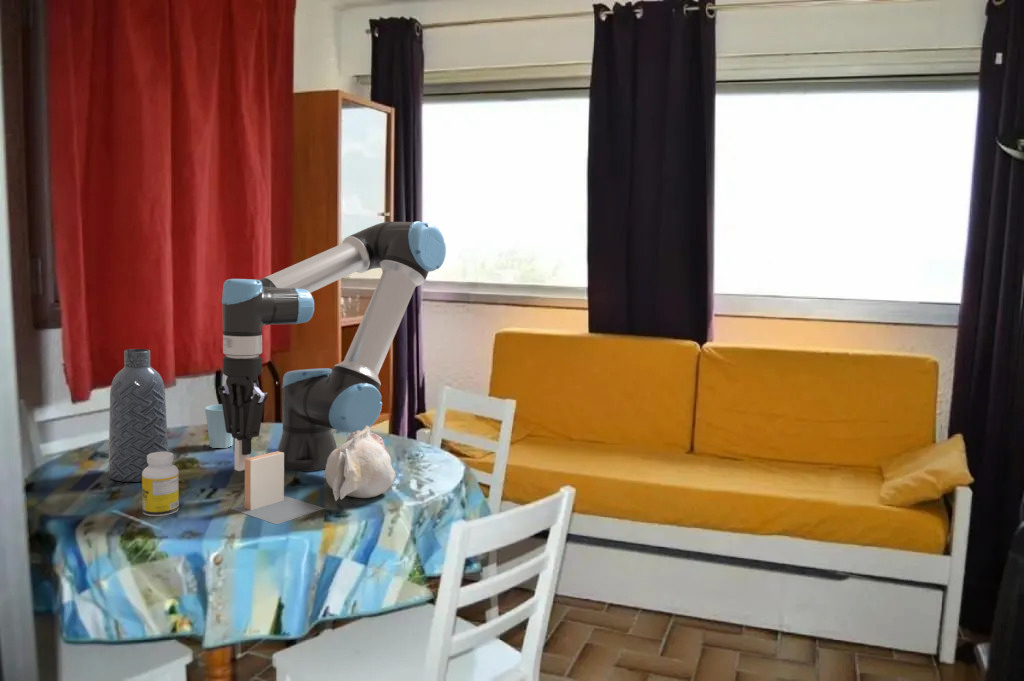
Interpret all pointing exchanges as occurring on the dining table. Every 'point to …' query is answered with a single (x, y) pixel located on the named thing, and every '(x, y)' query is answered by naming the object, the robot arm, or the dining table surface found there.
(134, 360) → the vase
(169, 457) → the pill bottle
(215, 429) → the cup
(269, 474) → the tile
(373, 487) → the white garlic bulb
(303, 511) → the mat
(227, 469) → the dining table surface
